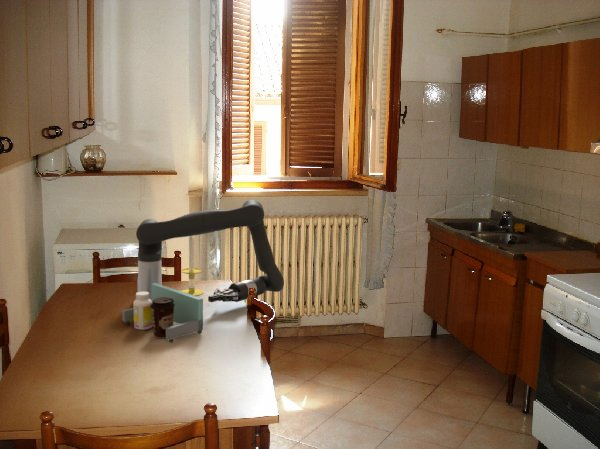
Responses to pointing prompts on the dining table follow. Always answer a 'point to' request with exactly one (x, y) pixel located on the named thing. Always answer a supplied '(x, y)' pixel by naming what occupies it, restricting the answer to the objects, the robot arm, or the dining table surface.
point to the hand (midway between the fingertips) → (209, 299)
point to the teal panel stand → (176, 311)
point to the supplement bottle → (142, 311)
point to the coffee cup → (162, 315)
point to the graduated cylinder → (192, 271)
